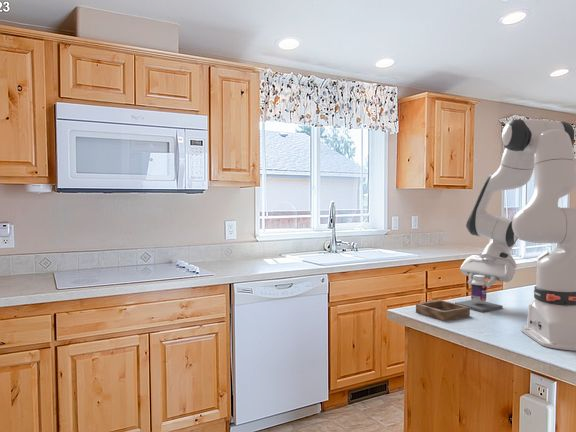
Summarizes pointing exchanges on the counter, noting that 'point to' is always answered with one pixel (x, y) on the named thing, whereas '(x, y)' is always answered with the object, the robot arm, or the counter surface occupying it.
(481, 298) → the pill bottle
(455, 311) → the wooden tray
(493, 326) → the counter surface
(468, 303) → the rubber mat
